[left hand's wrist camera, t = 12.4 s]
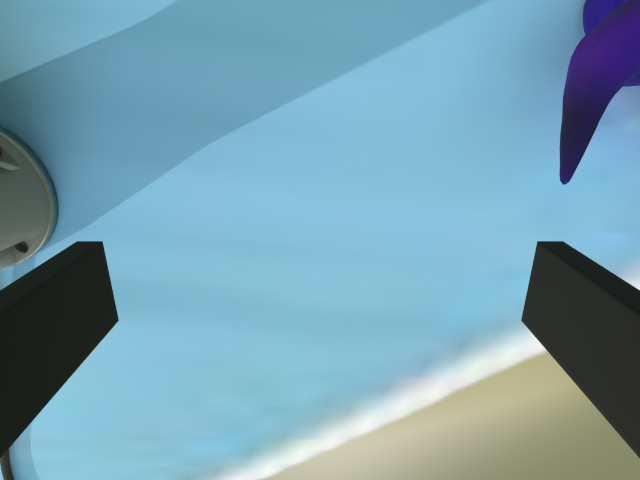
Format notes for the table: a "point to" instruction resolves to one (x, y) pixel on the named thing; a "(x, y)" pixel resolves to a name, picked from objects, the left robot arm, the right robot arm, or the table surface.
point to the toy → (598, 74)
